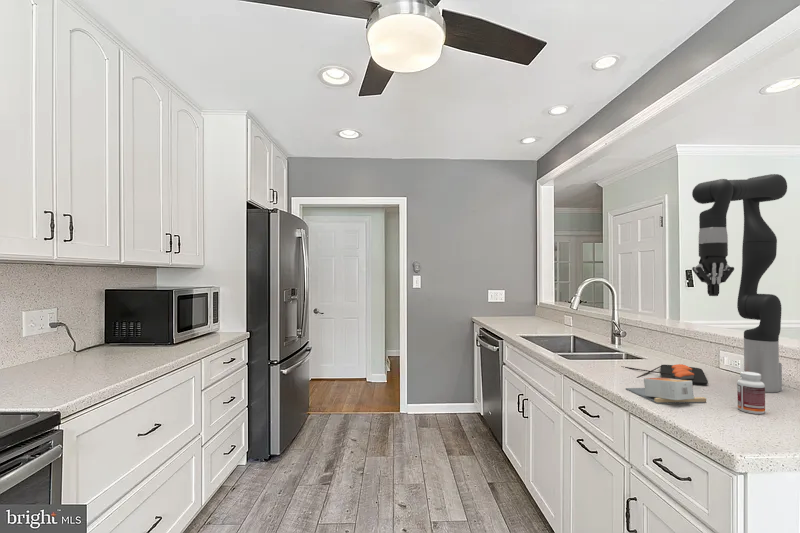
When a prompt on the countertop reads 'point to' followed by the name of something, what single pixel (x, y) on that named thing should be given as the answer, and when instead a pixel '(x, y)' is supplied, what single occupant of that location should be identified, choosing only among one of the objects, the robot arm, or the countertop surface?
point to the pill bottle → (751, 393)
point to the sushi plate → (679, 373)
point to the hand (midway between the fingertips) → (713, 295)
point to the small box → (669, 388)
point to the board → (665, 401)
